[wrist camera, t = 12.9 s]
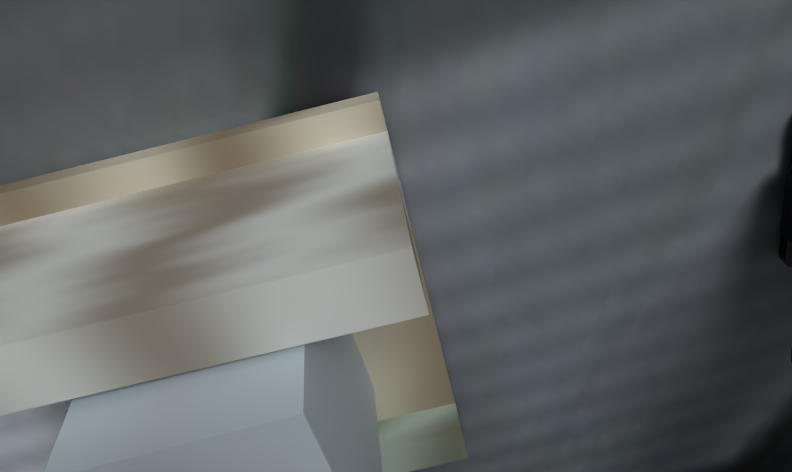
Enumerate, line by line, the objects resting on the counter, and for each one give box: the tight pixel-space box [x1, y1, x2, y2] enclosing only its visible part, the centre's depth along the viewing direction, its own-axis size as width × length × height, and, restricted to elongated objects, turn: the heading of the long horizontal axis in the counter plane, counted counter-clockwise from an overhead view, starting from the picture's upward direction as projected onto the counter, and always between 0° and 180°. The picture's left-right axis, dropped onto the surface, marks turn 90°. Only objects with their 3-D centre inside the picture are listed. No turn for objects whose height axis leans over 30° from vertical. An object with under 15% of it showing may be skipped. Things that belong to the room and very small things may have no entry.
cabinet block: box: [44, 333, 382, 472], centre depth 20 cm, size 6×9×8 cm, turn 14°
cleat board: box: [0, 92, 468, 472], centre depth 22 cm, size 12×16×7 cm
